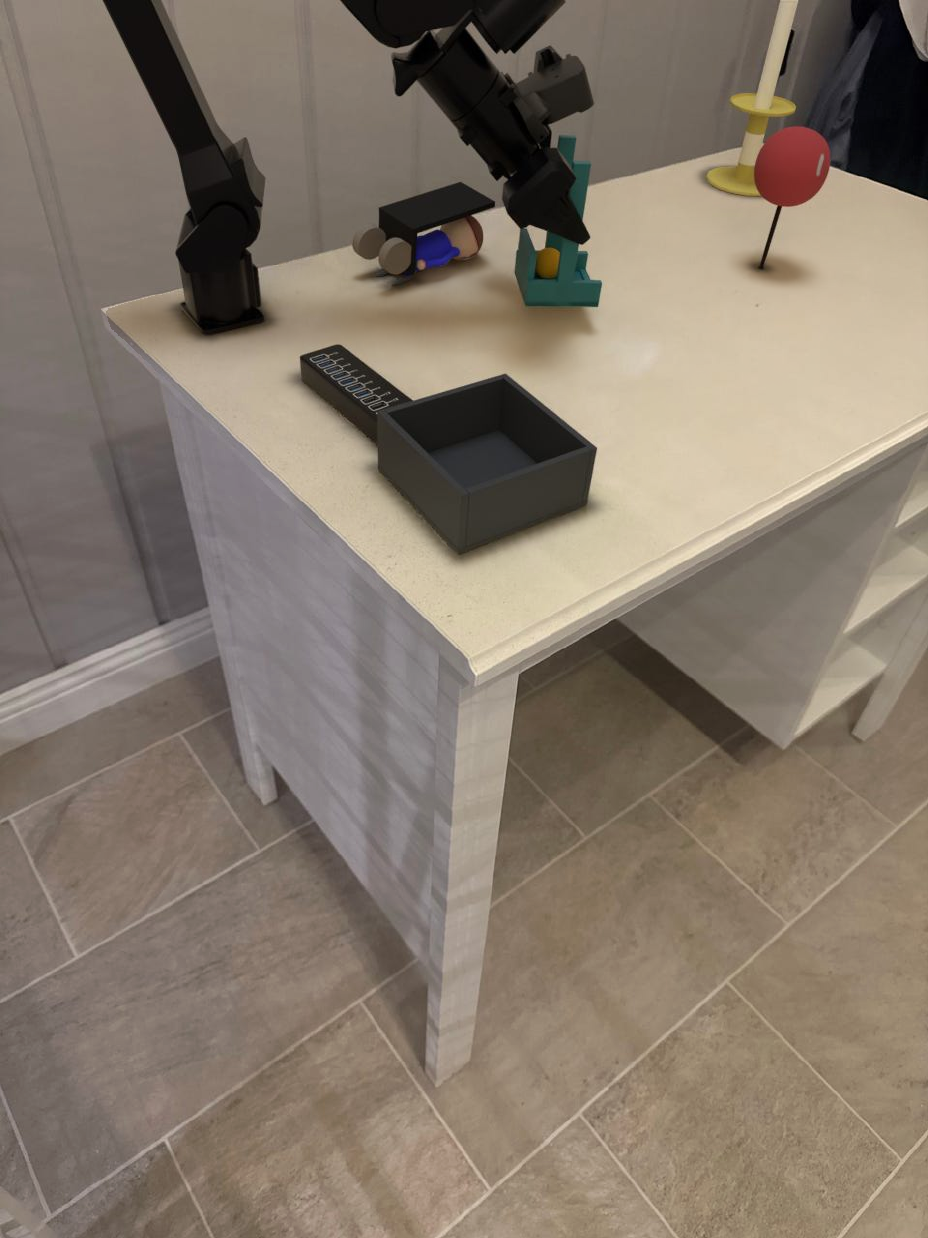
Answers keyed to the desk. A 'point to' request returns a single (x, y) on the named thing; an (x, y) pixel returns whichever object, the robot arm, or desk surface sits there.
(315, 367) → the multiport hub
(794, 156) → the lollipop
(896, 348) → the desk surface
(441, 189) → the figurine character
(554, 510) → the bin
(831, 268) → the desk surface
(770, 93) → the candle
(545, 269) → the toy ball
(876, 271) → the desk surface
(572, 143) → the tray with tall posts
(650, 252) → the desk surface
